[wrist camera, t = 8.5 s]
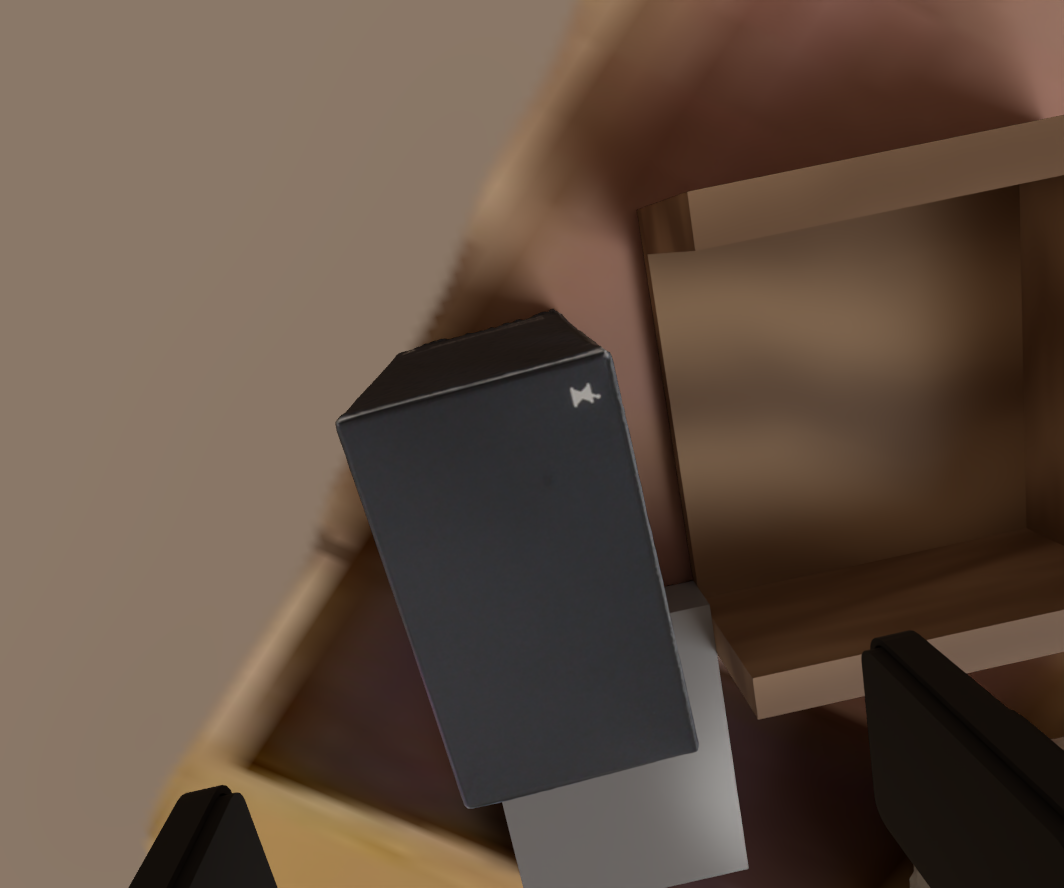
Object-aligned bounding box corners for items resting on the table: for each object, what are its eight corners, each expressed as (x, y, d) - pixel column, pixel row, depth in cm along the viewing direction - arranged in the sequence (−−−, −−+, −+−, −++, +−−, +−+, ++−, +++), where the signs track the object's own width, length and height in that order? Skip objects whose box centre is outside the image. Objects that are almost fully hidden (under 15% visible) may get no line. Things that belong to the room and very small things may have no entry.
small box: (380, 353, 25) (313, 413, 15) (561, 305, 25) (620, 331, 15) (464, 618, 27) (456, 826, 17) (627, 574, 27) (714, 755, 17)
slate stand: (466, 630, 27) (465, 657, 25) (693, 580, 28) (709, 604, 26) (527, 876, 30) (531, 918, 28) (731, 830, 31) (748, 868, 29)
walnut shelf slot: (636, 210, 24) (687, 191, 18) (1047, 126, 24) (1224, 81, 19) (700, 626, 28) (758, 719, 22) (1051, 549, 28) (1199, 622, 23)
